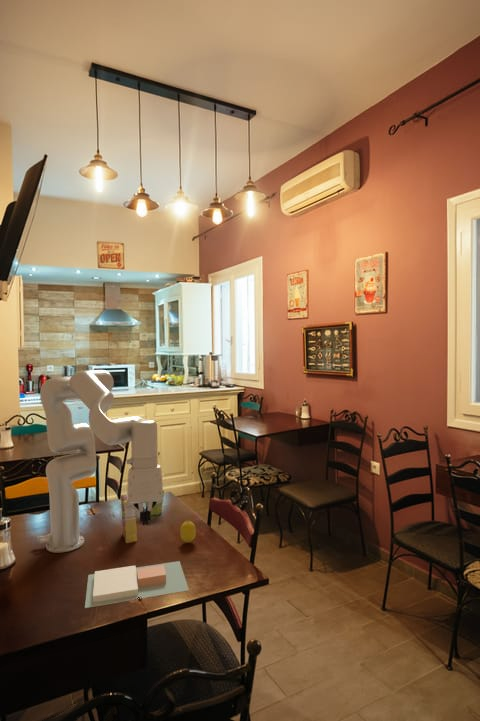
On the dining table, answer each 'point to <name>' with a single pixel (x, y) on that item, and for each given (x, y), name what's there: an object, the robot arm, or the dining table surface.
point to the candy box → (128, 520)
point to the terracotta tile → (151, 576)
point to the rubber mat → (172, 585)
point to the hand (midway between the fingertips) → (145, 523)
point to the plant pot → (156, 507)
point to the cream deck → (115, 583)
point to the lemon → (188, 531)
